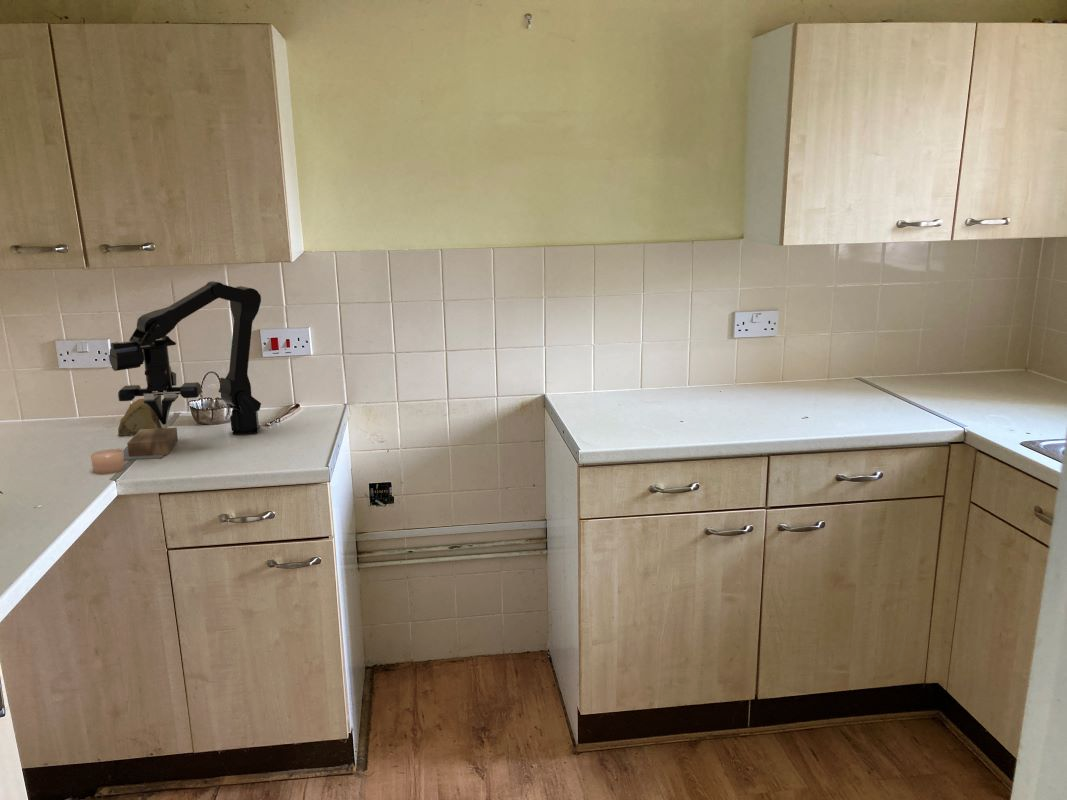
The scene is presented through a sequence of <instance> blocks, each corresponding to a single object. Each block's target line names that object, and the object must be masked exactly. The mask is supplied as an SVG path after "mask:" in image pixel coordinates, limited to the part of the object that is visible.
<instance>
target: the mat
mask: <svg viewBox="0 0 1067 800" xmlns="http://www.w3.org/2000/svg"><path fill="white" fill-rule="evenodd" d="M122 451H123V453H124V461H137V460H139V461H140V460H153V459H154V460H156V459H163V457H164V456H165V455H166V454H164V455H148V456H131V457H129V453H128V445H127V446H126V447H125V448H124V449H123V450H122Z"/></svg>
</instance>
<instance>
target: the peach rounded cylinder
mask: <svg viewBox="0 0 1067 800" xmlns="http://www.w3.org/2000/svg"><path fill="white" fill-rule="evenodd" d="M125 461H126V460H124V453H123V450H122V449H119V448H113V449H112V448H109V449H103V450H99V451H96V452H93V453H92V454H91V455H90V462H91V467H92V473H94V474H96V475H97V474H98V475H107V474H108V475H109V474H115V473H118V472H121V471H123V470H125V469H126V462H125Z"/></svg>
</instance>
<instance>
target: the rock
mask: <svg viewBox="0 0 1067 800" xmlns="http://www.w3.org/2000/svg"><path fill="white" fill-rule="evenodd" d="M144 400H145V399H144V398H139V399H136V401H133V402H132V403H130V404H129V406H128V408H127V410H126V412H125V413H124V415H123V416H122V417H121V419H120V421H119V425H118V428H117V435H118V436H119V437H120V436H122V437H123V436H131V435H133V436H134V435H135V434H136V433H137V432H138V431H139V430H140V429H158V428H163V427H162V423H161V422H160V420H159V418H158V417H157V415H156V413H155V412H154V411H153V409H152V408H151V407H150V406H149V404H148V403H144Z"/></svg>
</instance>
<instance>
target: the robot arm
mask: <svg viewBox="0 0 1067 800" xmlns="http://www.w3.org/2000/svg"><path fill="white" fill-rule="evenodd" d="M218 299H222V300H226V301H228V302H229V305H230V306H229V307H230V311H231V313H232V318H233V326H232V327H233V328H232V337H231V346H230V347H231V349H230V360H229V371H228V372H227V374H226V376H225V377H220V378H219V385H220V386H219V389H218V393H220V398H221V399H222V401H223V402H224V403H226V404H227V405H228V408H229V409H232V410H231V415H230V417H229V418H230V427H231V429H230V430H231V432H232V435H246V434H247V435H248V434H257V433H259V430H260V428H261V425H260V424H259V411H261V405H262V402H260V401H258V399H256V398H255V397H254V396H253V395H252V385H251V382H250V379H249V376H248V371H249V360H250V351H251V339H252V332H253V331H252V328H253V322H254V320H255V319H256V318H257V317H256V316H257V315H258V313H259V310H260V307H261V303H262V294H260V292H259V291H258V290H257V289H255V288H252V287H248V286H236V287H235V286H231V285H227V284H223V283H222V282H220V281H213V280H212V281H208V282H207V283H206V284H205V285H203V286H201V287H200V288H198V289H197V290H195V291H192V292H191V293H190V294H188V295H186V296H184V297H183V298H181V299H179V300H177V301H176V302H174V303H172V304H170V305H168V306H167V307H163V308H159V309H156V310H152V311H150V312H148V313H145V314H142V315H141V316H140V317H139V318H137V322H136V328H135V330H134V332H132V335H131V337H130V338H129V339H128V341H124V342H123V341H121V342H118V341H117V342H110V349H109V355H108V361H109V364H110V366H111V369H112V370H113V371H114V372H117V371H118V372H119V371H124V370H130V369H136V368H140V367H141V365H144V376H145V381H146V385H147V387H146V388H141V386H140V384H131V385H130V384H129V385H124V386H123V387H122V388H121V389H119V391H118V392H117V395H118V401H119V402H132V401H133V400H134V399H135V398H136V397H143V399H145V400H144V403H148V404H149V406H150V407H151V408H152V409H153V411H154V412H155V413H156V415H157V417H158V418H159V421H160V423H161V426H162V425H163V426H164V425H167V423H168V419H169V415H170V409H171V407H172V404H173V403H174V402H175V401H177V399H178V398H179V395H180V396H181V398H184V399H195V398H198V397H199V396H200V395H201V393H203V391H202V385H201V383H200V382H184V383H183V384H182V385H181V386H177V372H174V371H172V367H171V365H170V358H169V356H170V355H169V349H168V347H172V346H176V344H177V342H176V341H174V340H173V339H171V338H170V336H169V335H168V334H169V333H170V332H172V331H173V330H174V329H175V328H176V326H177V324H179V323H180V322H181V321H182V320H183V319H184V320H185V319H186V318H187V317H189V316H191V315H192V314H194V313H195V312H197V311H199V310H200V309H203V308H204V307H205V306H207V305H209V304H211V303H212V302H214V301H216V300H218ZM162 396H163V399H162Z"/></svg>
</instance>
